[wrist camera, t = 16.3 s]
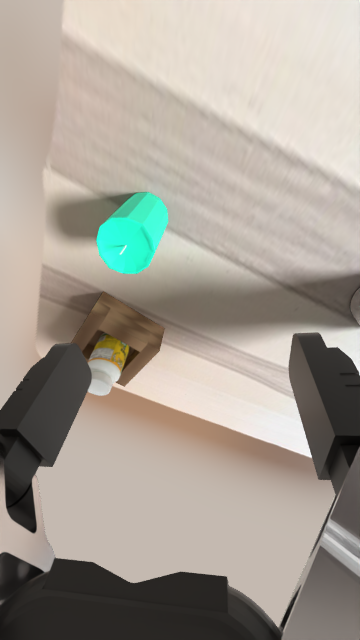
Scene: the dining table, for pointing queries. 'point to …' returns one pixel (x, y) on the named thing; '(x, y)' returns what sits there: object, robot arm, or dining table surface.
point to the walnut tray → (121, 334)
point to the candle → (132, 233)
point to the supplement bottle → (106, 363)
